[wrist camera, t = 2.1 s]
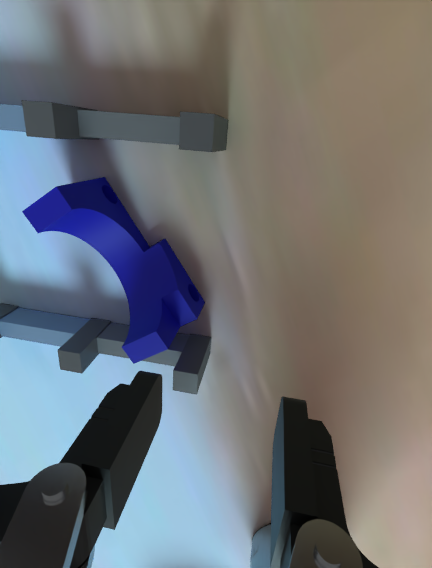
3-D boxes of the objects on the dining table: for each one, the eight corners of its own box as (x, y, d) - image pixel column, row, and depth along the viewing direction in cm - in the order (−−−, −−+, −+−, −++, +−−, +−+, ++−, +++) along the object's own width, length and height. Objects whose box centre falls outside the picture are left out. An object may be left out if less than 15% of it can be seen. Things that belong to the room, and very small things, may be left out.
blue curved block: (205, 301, 27) (186, 341, 22) (161, 321, 29) (133, 363, 23) (121, 166, 24) (74, 173, 19) (77, 196, 26) (22, 211, 20)
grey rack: (228, 119, 21) (214, 114, 17) (209, 354, 29) (196, 394, 24) (-43, 100, 24) (-118, 90, 19) (4, 320, 31) (-43, 350, 27)
